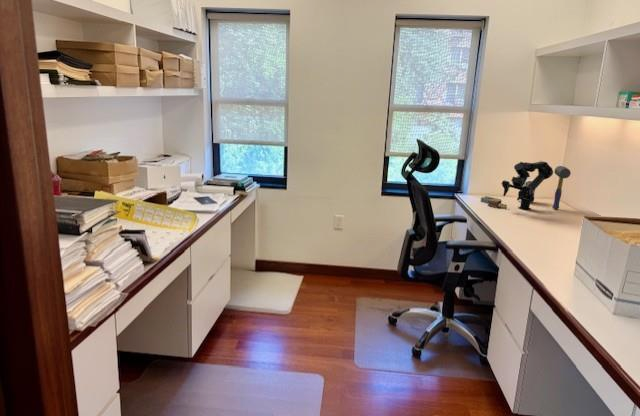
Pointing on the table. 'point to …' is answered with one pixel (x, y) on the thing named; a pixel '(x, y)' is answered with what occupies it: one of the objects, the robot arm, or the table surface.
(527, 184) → the candy bar box
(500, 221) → the table surface
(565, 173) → the rubber mallet
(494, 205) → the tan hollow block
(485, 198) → the block
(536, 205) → the table surface
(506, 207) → the brass rod
